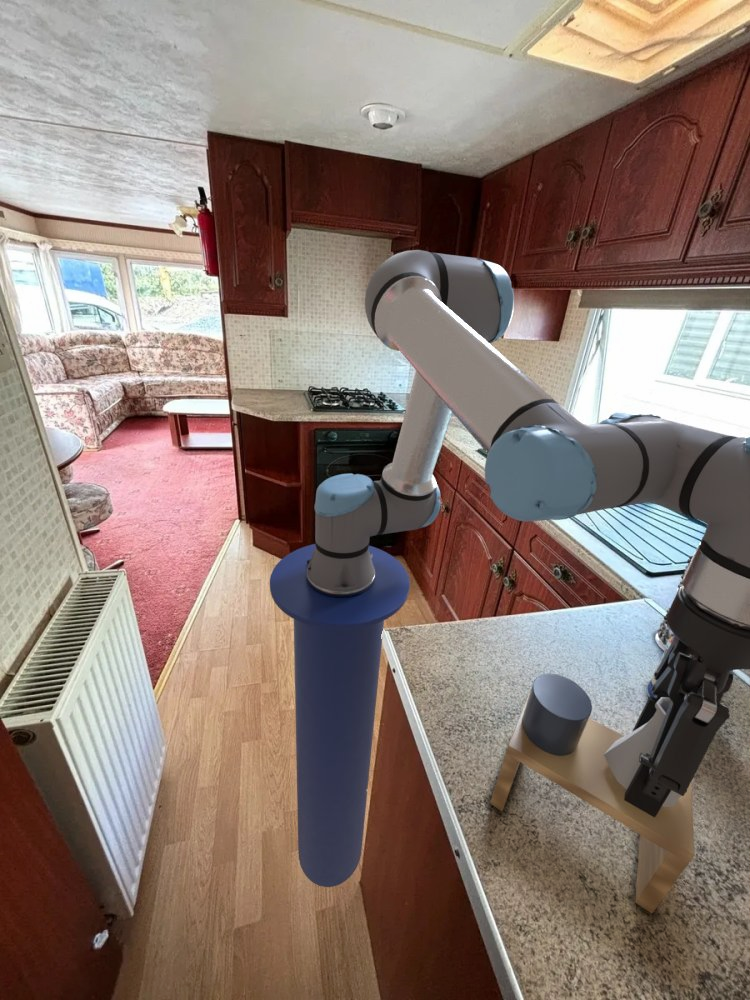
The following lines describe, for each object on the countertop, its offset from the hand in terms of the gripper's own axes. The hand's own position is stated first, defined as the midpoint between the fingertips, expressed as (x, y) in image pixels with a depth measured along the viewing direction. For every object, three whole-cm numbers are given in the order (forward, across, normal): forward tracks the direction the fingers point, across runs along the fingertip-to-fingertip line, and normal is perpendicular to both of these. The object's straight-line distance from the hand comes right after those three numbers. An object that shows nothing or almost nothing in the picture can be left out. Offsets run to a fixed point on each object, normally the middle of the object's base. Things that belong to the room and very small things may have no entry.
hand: (641, 771), depth 44 cm
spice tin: (+1, 0, +10) cm, 10 cm away
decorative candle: (+13, +46, -8) cm, 48 cm away
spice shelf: (+13, 0, +4) cm, 13 cm away
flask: (0, 0, 0) cm, 0 cm away
